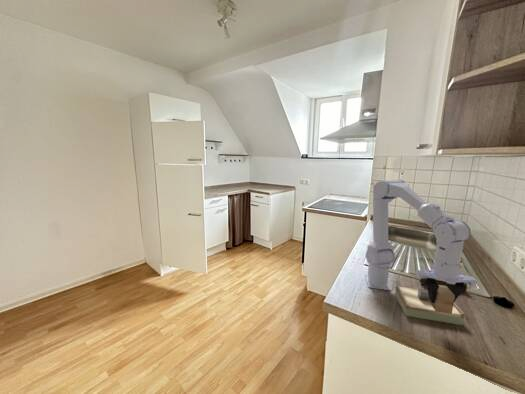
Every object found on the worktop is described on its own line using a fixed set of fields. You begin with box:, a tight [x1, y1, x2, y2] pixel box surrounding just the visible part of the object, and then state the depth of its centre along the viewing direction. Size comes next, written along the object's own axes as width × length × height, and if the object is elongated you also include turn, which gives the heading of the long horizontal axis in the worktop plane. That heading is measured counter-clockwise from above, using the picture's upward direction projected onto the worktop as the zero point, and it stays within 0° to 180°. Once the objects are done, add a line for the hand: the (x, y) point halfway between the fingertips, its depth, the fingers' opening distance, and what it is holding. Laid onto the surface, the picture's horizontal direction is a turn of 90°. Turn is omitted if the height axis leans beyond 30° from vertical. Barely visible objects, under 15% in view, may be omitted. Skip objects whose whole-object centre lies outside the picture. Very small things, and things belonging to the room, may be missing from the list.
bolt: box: [418, 278, 468, 291], centre depth 91 cm, size 6×5×15 cm
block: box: [429, 285, 455, 314], centre depth 68 cm, size 5×4×6 cm
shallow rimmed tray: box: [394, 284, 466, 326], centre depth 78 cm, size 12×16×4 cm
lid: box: [399, 286, 461, 318], centre depth 77 cm, size 12×14×4 cm
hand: (440, 302), depth 68 cm, fingers closed on block, 4 cm apart
